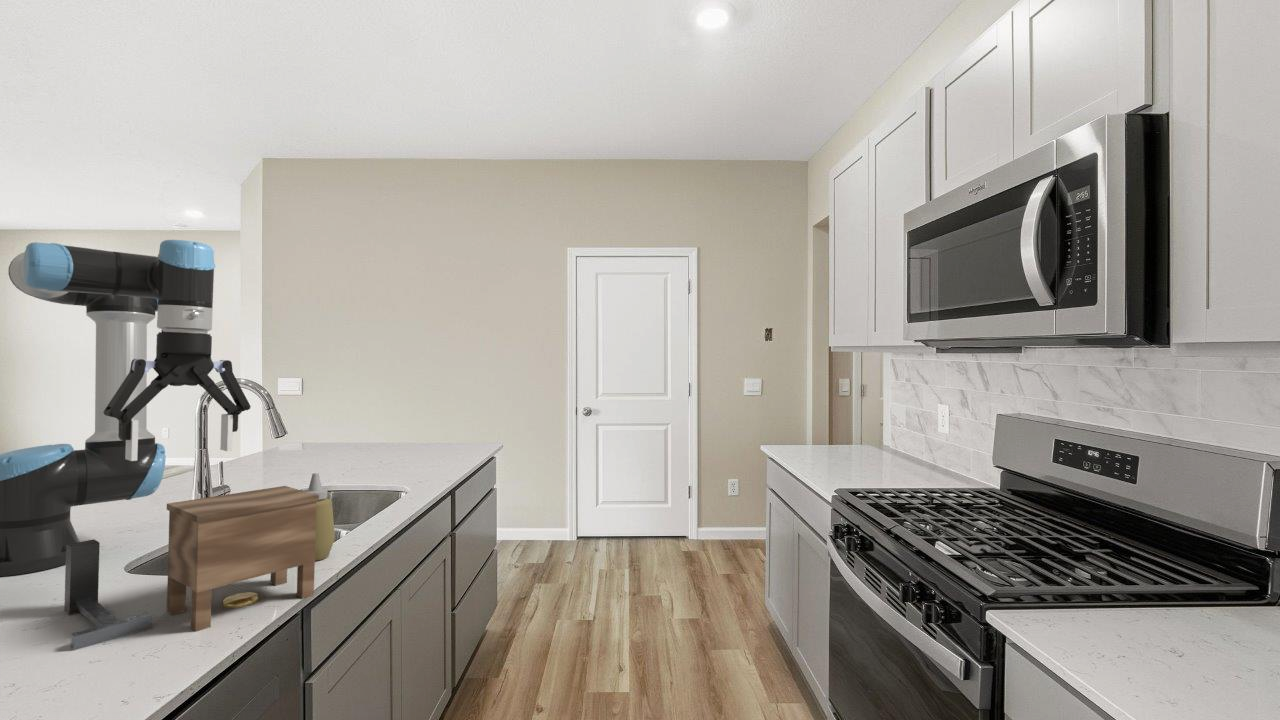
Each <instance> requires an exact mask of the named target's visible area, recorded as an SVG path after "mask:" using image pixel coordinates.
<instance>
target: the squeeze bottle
mask: <svg viewBox="0 0 1280 720" xmlns="http://www.w3.org/2000/svg"><path fill="white" fill-rule="evenodd" d="M320 477H321V476H320V473H319V472H317V473H312V474H311V478H310V482H309V486H308V489H305V490H304V491H305V492H309V493H312V494H316V495H319V501H316V530H315V562H316V561H321V560H324V559H326V558H328V557H329V556H330V552H331V550H332V547H333V545H334V542H335V540H336V534H335V523H334V511H333V501H332V500H330V499H329V498H328V489H326V488H322V482H321V479H320Z"/></svg>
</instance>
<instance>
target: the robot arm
mask: <svg viewBox="0 0 1280 720" xmlns="http://www.w3.org/2000/svg"><path fill="white" fill-rule="evenodd" d="M25 247H26V248H25V250H24V252H21V253H20V254H18V255H16V256H15V257H14V258H13V259H12V260H11V261H10V264H9V266H8V277H9V279H10V281H11V283H12V285H13V286H14V287H15V288H16V289H18V290H19V291H20V292H22V293H23V294H26V295H28V296H31V297H33V298H36V299H39V300H43V301H46V302H49V303H54V304H61V305H69V306H80V307H81V306H82V307H86V309H85V311H86V316H87V317H88V318H89V319H91V320H92V321H93V322H94V324H95V371H94V373H95V378H94V380H95V382H94V383H95V385H94V386H95V387H94V388H95V389H94V390H95V391H94V393H95V397H94V398H95V399H94V417H95V418H94V432H93V434H92V435H91V436H88V438H86V439H85V442H84V446H85V447H84V449H75V450H74V447H73V446H72V444H70V443H58V444H57V443H56V444H47V445H46V444H45V445H38V446H32V447H26V448H20V449H16V450H11V451H8V452H4V453H2V454H0V577H5V576H6V577H9V576H16V575H17V576H18V575H23V574H29V573H34V572H35V573H36V572H41V571H45V570H50V569H53V568H57V567H61V566H64V565H66V544H71V543H77V542H80V539H79V537H78V535H77V533H76V530H75V528H74V525H73V524H72V521H71V509H72V507H77V506H78V507H79V506H85V505H93V504H94V505H95V504H101V503H108V502H109V503H110V502H116V501H124V500H125V501H126V500H127V501H130V500H132V499H138V498H145V497H148V496H151V495H153V494H154V493H155V492H156V491H157V490H158V489H159V487H160V485H161V482H162V480H163V478H164V477H163V476H164V473H165V469H166V454H165V453H166V449H165V446H164V445H163V444H161V443H158V442H156V435H154V434H153V433H151V432H150V431H149V430H148V429H147V415H148V414H147V412H148V411H147V410H148V409H147V407H148V406H147V405H148V404H149V403H150V402H151V401H152V400H153V399H154V398H155V397H156V396H158V394H159V393H160V392H161V391H162V390H164V389H166V388H167V387H168V386H173V387H182V386H192V387H196V386H200V387H201V388H203V389H204V391H206V393H208V395H210V396H211V398H212V399H213V400H214V401H215V402H216V403H217V404H219V406H220V407H221V408H222V409H223V410H224V411H225V412H226V413H222V414H221V416H220V417H221V418H220V419H221V421H220V445H219V446H220V450H221V451H225V452H233V432H238V429H239V415H241V413H242V412H245V411H248V410H250V409H251V407H252V405H250V403H249V400H248V399H247V397H246V395H245V393H244V391H243V389H242V387H241V385H240V383H239V382H238V380H237V378H236V375H235V374H234V372H233V370H234V369H233V363H232V361H231V360H229V359H228V360H226V359H221V360H219V361H213V360H212V345H213V343H212V342H213V339H212V338H213V336H211V333H208V332H210V331H211V330H212V329H213V302H214V301H213V300H214V281H215V280H214V279H215V278H214V276H215V268H216V264H215V255H214V253H215V252H214V249H213V247H212V246H210V245H208V244H207V243H203V242H196V241H192V240H183V239H165V240H162V241H161V242H160V244H159V251H158V254H157V256H154V255H145V254H138V253H131V252H121V251H110V250H103V249H96V248H89V247H88V248H87V247H81V246H74V245H72V246H71V245H64V244H61V243H57V242H55V243H54V242H50V243H48V242H47V243H46V242H34V241H33V242H30V243H28V244H27V245H26V246H25ZM156 312H157V317H156ZM155 318H157V319H156V328H157V329H161V330H160V331H159V332H158V333H157V334H156V350H155V352H156V353H155V355H156V356H155V359H154V360H148V358H147V357H148V354H147V351H148V350H147V348H148V346H147V345H148V339H147V338H148V337H147V336H148V332H147V331H148V330H147V329H148V324H149V323H150V322H152V321H153V320H154V319H155ZM152 369H153V370H154V371H155V372H156V374H157V376H156V377H155V378H154V379H152V381H151V382H150V384H148V385H147V382H148V381H147V377H148V376H147V373H149V372H150V370H152ZM213 369H214V370H215V371H216V373H217V374H218V373H219V376H220V379H221V380H222V382H223V383H224V385H225V387H226V389H227V391H228V392H229V395H230V396H231V398H232V400H233V401H232V400H231V399H230V397H228V395H226V394H225V392H224V391H222V390H221V388H219V387H218V386H217V384H216V383H215V381H214V380H213V379H212V378H211V377H210V376H209V374H210V373H211V371H213Z"/></svg>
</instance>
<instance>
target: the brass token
mask: <svg viewBox="0 0 1280 720" xmlns="http://www.w3.org/2000/svg"><path fill="white" fill-rule="evenodd" d="M258 598H259V594H258V593H256V592H249V591H247V592H240V593H235V594H231V595H229V596H226V597H225V598H224V599H223V601H222V606H223V607H224V608H228V609H233V608H235V609H236V608H243V607H247V606H250V605H252V604H254V603H256V602H257V601H258V600H259V599H258Z"/></svg>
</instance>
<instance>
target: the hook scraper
mask: <svg viewBox="0 0 1280 720" xmlns="http://www.w3.org/2000/svg"><path fill="white" fill-rule="evenodd" d="M100 546H101V545H100V542H99V541H97V540H96V539H94V538H93V539H88V540H82V541H79V542H77V543H71V544H66V564H65V569H64V570H65V574H64V577H65V578H64V579H65V580H64V606H63V608H64V609H63V611H64V613H65V612H66V614H67V615H68V616H72V615H76V614H80V613H81V614H82V615H83V616H85V617H86V618H87V619H88V620H89V621H90V622H91V623H92V624H94V625H95V627H94V626H93V627H91V628H87V629H84V630H80V631H75V632H72V633H71V635H70V638H71V640H70V648H71V649H72V650H73V651H77V650H80V649H83V648H87V647H90V646H93V645H97V644H101V643H104V642H108V641H111V640H115V639H118V638H122V637H125V636H129V635H132V634H136V633H139V632H142V631H145V630H149V629H153V614H151V613H150V612H147V613H142V614H139V615H136V616H131V617H127V618H123V619H119V617H117V616H115V615H114V614H113V612H110V611H109V610H108V609H107V608H105V607H104V606H103V605H102V604H100V603H99V584H100V583H99V580H100V579H99V578H100V574H99V573H100Z"/></svg>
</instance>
